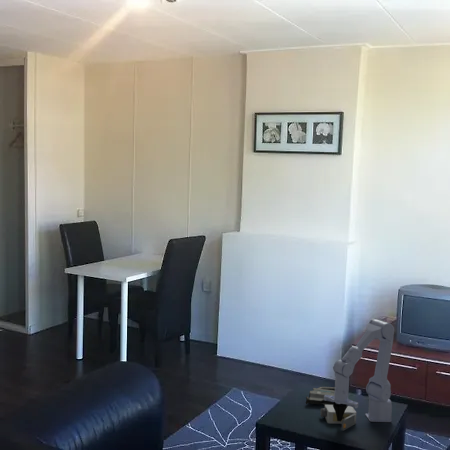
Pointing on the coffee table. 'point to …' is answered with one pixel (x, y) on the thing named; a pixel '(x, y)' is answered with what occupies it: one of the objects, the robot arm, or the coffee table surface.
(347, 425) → the side door
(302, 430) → the coffee table surface
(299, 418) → the coffee table surface
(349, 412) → the camera case
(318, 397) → the camcorder
